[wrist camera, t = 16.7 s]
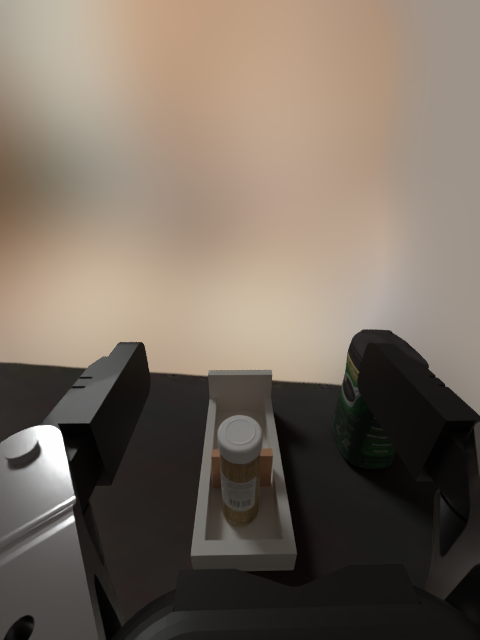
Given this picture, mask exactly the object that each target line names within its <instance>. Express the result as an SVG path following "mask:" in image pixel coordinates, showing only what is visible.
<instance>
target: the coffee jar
mask: <svg viewBox="0 0 480 640" xmlns="http://www.w3.org/2000/svg"><path fill="white" fill-rule="evenodd" d="M371 342H391V343H394V344H395V345H396V346H397V347H398V348H400V349H401V350H402V351H403V352H404V353H405V354H406V355H407V356H409V357H411V358H412V359H414V360H416V361H418V362H419V363H421V364H423V365H424V366H425V367H427V368H429V365H428V363H427V361H426V360H425V359H424V358H423V357H422V356H421V355H420V354H419V353H418V352H417V351H416V350H415V349H413V348H412V347H411V346H410V345H409V344H408V343H407V342H406V341H404V340H403V339H401V338H400V337H398V336H397V335H395V334H393V333H392V332H391V331H389V330H362V331H361V332H359V333H357V334H356V335H355V336H354V337H353V339H352V341H351V344H350V346H349V349H348V354H347V363H346V371H345V376H344V380H343V383H342V387H341V391H340V395H339V398H338V402H337V405H336V408H335V412H334V415H333V419H332V430H333V434H334V437H335V440H336V443H337V446H338V448H339V450H340V452H341V454H342V456H343V457H344V458H345V460H347V461H348V462H349V463H351V464H352V465H354V466H357V467H360V468H364V469H383V468H387V467H389V466H390V465H391V464H392V462H393V459H394V457H395V454H396V450H395V449H394V447H393V445H392V444H391V442H390V441H389V439H388V437H387V436H386V434H385V433H384V431H383V430H382V428H381V426H380V425H379V423H378V422H377V420H376V418H375V417H374V415H373V414H372V412H371V410H370V409H369V407H368V406H367V404H366V403H365V401H364V399H363V398H362V396H361V395H360V393H359V390H358V385H357V378H358V374H359V370H360V366H361V362H362V359H363V355H364V351H365V348H366V346H367V344H368V343H371Z"/></svg>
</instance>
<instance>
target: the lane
mask: <svg viewBox="0 0 480 640" xmlns="http://www.w3.org/2000/svg"><path fill="white" fill-rule="evenodd" d="M208 379H209V394H210V401H209V409H208V418H207V426H206V434H205V442H204V451H203V459H202V467H201V475H200V484H199V492H198V500H197V508H196V517H195V525H194V533H193V541H192V550H191V560H192V565H193V570H200V569H238V570H241V571H278V570H294V566H295V561H296V556H297V551H296V545H295V539H294V533H293V527H292V521H291V515H290V509H289V503H288V497H287V492H286V486H285V480H284V474H283V468H282V462H281V456H280V450H279V444H278V438H277V433H276V427H275V421H274V415H273V409H272V403H271V385H272V371H271V370H226V371H225V370H220V371H218V370H216V371H209V373H208ZM236 415H244V416H248V417H251V418H252V419H254V420H255V421H257V423H258V424H259V425H260V427H261V429H262V435H263V441H262V449H268V448H272V452H273V463H272V474H271V485H270V486H269V487H259V496H258V504H259V509H258V514H257V516H256V518H255V519H254V520H253V522H251V523H250V524H248V525H247V526H242V527H239V526H234V525H232V524H231V523H229V522H228V521H227V520H226V518H225V516H224V514H223V511H222V502H223V497H222V489H221V487H214V486H213V473H212V460H211V454H212V449H218V442H217V433H218V429H219V427H220V425H221V423H222V422H223V421H225V420H226V419H227V418H229V417H232V416H236Z"/></svg>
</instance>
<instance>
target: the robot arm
mask: <svg viewBox="0 0 480 640" xmlns="http://www.w3.org/2000/svg"><path fill="white" fill-rule="evenodd" d="M357 385H358V390H359V393H360V395H361V396H362V398H363V399H364V401H365V403H366V404H367V406H368V407H369V409H370V410H371V412H372V414H373V415H374V417H375V418H376V420H377V422H378V423H379V425H380V426H381V428H382V430H383V431H384V433H385V434H386V436H387V437H388V439H389V441H390V442H391V444H392V445H393V447H394V449H395V450H396V452H397V453H398V455H399V456H400V458H401V460H402V461H403V463H404V464H405V466H406V468H407V469H408V471H409V472H410V474H411V476H412V477H413V479H414V480H415V482H418V481H434V482H435V484H436V485H437V487H438V489H437V491H436V493H435V496H434V517H433V542H432V562H431V568H430V572H429V576H428V578H427V581H426V585H425V589H424V590H423V589H420V588H418V587H416V586H413V585H412V583H411V581H410V579H409V577H408V574H407V572H406V570H405V568H404V566H403V564H386V565H349V566H346V567H344V568H342V569H339V570H337V571H335V572H332V573H330V574H328V575H325V576H323V577H321V578H318V579H316V580H313V581H311V582H309V583H306V584H304V585H302V586H298V587H291V586H287V585H284V584H281V583H278V582H275V581H272V580H269V579H266V578H262V577H259V576H256V575H253V574H250V573H247V572H244V571H241V570H238V569H200V570H179V571H178V578H177V585H176V589H175V590H173V591H170V592H168V593H166V594H164V595H162V596H160V597H159V598H157V599H155V600H153V601H152V602H150V603H149V604H148V605H146V606H145V607H144V608H142V609H141V610H140V611H138V612H137V613H136V614H135V615H134V616H133V617H132V618H131V619H130V620H128V621H127V622H126V623H125V624H124V620H123V616H122V613H121V609H120V606H119V603H118V599H117V596H116V593H115V590H114V587H113V584H112V581H111V578H110V575H109V572H108V568H107V564H106V561H105V557H104V553H103V549H102V545H101V541H100V538H99V534H98V530H97V526H96V522H95V519H94V515H93V511H92V507H91V504H90V501H89V499H90V496H91V494H92V492H93V490H94V488H95V486H108V485H111V484H112V482H113V479H114V477H115V475H116V472H117V470H118V467H119V465H120V462H121V460H122V458H123V455H124V453H125V450H126V448H127V446H128V443H129V441H130V438H131V436H132V434H133V431H134V429H135V426H136V424H137V421H138V419H139V417H140V414H141V412H142V409H143V407H144V405H145V402H146V400H147V397H148V395H149V391H150V373H149V368H148V362H147V356H146V351H145V346H144V344H143V343H142V342H120V343H118V344H117V346H116V347H115V348H114V350H113V351H112V352H111V353H110V355H109V356H108V357H102V358H100V359H99V360H97V361H96V362H94V363H93V364H91V365H90V366H89V367H88V368H87V369H86V370H85V372H84V373H83V374H82V375H81V376H80V379H78V380H77V381H76V382H75V384H74V385H73V388H72V389H70V390H69V391H68V392H67V393H66V395H65V396H64V397H63V398H62V399H61V401H60V402H59V403H58V404H57V406H56V407H55V408H54V409H53V410H52V412H51V413H50V414H49V415H48V416H47V418H46V419H45V420H44V421H43V422H42V424H41V425H40V426H35V427H32V428H28V429H25V430H23V431H20V432H18V433H16V434H14V435H12V436H11V437H9V438H7V439H6V440H4V441H3V442H2V443H0V640H480V416H479V415H478V414H477V413H476V412H475V411H474V410H473V409H472V408H471V407H470V406H468V405H467V404H466V403H465V402H464V401H463V400H462V399H461V398H460V397H458V396H457V395H456V394H455V393H454V392H453V391H452V390H451V389H450V388H448V387H445V384H444V383H443V382H442V381H441V380H440V379H439V378H436V377H435V375H434V374H433V373H432V372H431V371H430V370H429V369H428V368H427V367H425V366H424V365H423V364H421V363H419V362H418V361H416V360H414V359H412V358H411V357H409V356H407V355H406V354H405V353H404V352H403V351H402V350H401V349H400V348H398V347H397V346H396V345H395V344H394V343H391V342H371V343H368V344H367V346H366V348H365V351H364V355H363V359H362V362H361V366H360V370H359V374H358V378H357Z"/></svg>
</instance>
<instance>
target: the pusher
mask: <svg viewBox="0 0 480 640" xmlns="http://www.w3.org/2000/svg"><path fill="white" fill-rule="evenodd" d="M211 460H212V473H213V486H214V487H221V472H220V452H219V449H212V454H211ZM272 463H273V452H272V448H268V449H262V450H261V453H260V472H259V474H260V484H259V487H269V486H270V485H271V474H272Z"/></svg>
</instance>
